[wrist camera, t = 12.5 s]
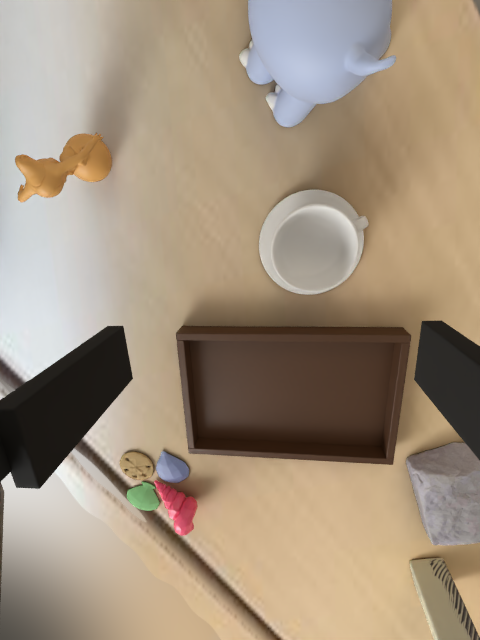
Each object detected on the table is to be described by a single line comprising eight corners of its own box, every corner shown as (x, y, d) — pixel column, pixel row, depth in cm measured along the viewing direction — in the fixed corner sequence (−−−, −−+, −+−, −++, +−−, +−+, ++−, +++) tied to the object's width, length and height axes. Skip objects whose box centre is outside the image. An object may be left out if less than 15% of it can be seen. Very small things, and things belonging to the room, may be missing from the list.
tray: (181, 326, 36) (175, 333, 34) (403, 327, 33) (411, 335, 31) (193, 440, 41) (188, 453, 39) (386, 450, 38) (393, 465, 36)
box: (447, 582, 44) (511, 724, 32) (413, 584, 45) (462, 724, 32) (442, 554, 42) (507, 691, 30) (406, 557, 43) (456, 692, 31)
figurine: (122, 117, 30) (27, 61, 19) (155, 179, 31) (86, 161, 20) (56, 164, 32) (-65, 139, 21) (91, 220, 34) (-5, 224, 22)
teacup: (286, 309, 34) (287, 323, 30) (241, 222, 32) (235, 224, 27) (378, 265, 32) (394, 274, 27) (337, 168, 29) (347, 161, 25)
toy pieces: (210, 463, 42) (203, 490, 38) (195, 523, 46) (186, 553, 42) (123, 438, 42) (106, 463, 38) (114, 499, 46) (98, 528, 42)
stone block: (475, 425, 38) (395, 456, 38) (512, 453, 33) (421, 488, 33) (490, 498, 41) (416, 526, 41) (525, 532, 36) (442, 563, 37)
